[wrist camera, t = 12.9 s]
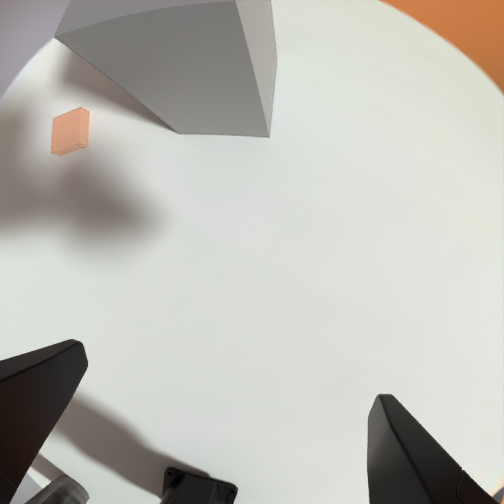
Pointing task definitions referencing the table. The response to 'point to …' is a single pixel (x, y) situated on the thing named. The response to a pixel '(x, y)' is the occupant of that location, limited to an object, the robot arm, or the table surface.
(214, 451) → the table surface
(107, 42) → the smooth gray cuboid
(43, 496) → the beverage cup
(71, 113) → the terracotta block
